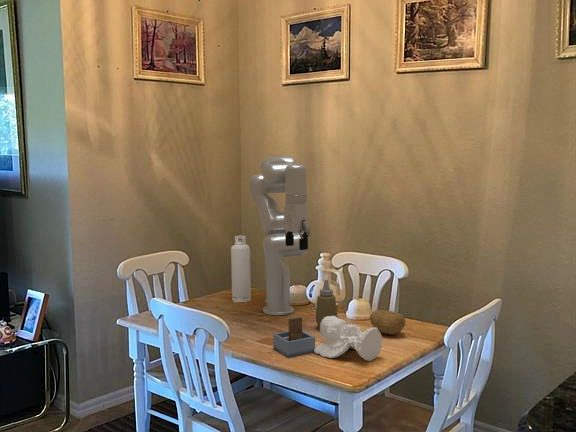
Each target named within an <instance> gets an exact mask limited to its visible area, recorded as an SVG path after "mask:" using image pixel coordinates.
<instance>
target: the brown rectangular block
mask: <svg viewBox="0 0 576 432" xmlns="http://www.w3.org/2000/svg"><path fill="white" fill-rule="evenodd" d="M288 331H289V341H293V340H298V339H302V331H303V316H300V315H298V316H292V317H288Z"/></svg>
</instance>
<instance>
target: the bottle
mask: <svg viewBox="0 0 576 432" xmlns="http://www.w3.org/2000/svg"><path fill="white" fill-rule="evenodd" d="M230 263H231V266H230V268H231V294H232V295H231V300H233V301H234V302H233V301H232V302H233V303H237V302H244V303H248V302H247V301H249V302H251V301H252V296H251V294H252V293H251V292H252V291H251V289H252V287H251V282H252V281H251V248H250V246H249V245H248V244H247V238H246V235H235V236H234V244H233V245H232V246H231V247H230ZM236 298H237V299H236ZM250 300H251V301H250Z"/></svg>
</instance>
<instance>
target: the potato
mask: <svg viewBox="0 0 576 432" xmlns="http://www.w3.org/2000/svg"><path fill="white" fill-rule="evenodd" d="M369 318H370V324H371V325H372V328H378V331H379V332H380V333H382V334H384V335H396V334H398V333H400V332H401V331H402V330H403V329H404V328H405V326H406V319H405V317H404V316H403V315H402V314H401V313H398V312H395V311H392V310H385V309H377V310H375V311H372V312H371V313H370V317H369Z"/></svg>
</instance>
